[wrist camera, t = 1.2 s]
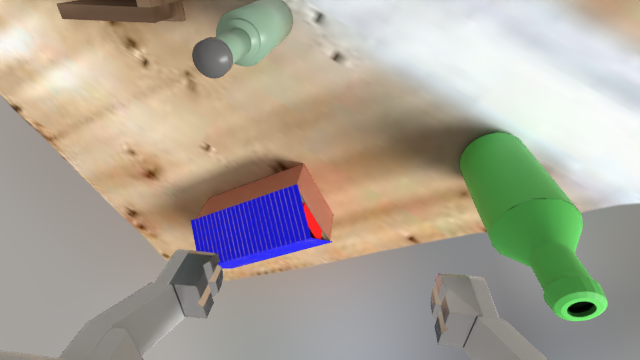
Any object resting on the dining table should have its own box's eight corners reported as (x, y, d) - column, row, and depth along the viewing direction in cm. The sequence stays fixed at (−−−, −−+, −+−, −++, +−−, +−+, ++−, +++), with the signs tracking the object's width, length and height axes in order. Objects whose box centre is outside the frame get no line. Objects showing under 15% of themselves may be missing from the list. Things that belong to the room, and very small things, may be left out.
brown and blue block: (207, 196, 59) (175, 242, 49) (304, 160, 52) (290, 205, 42) (243, 242, 64) (221, 291, 55) (336, 214, 57) (329, 266, 48)
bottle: (445, 155, 48) (502, 302, 28) (502, 117, 44) (617, 256, 23) (479, 191, 51) (554, 349, 30) (535, 159, 47) (665, 317, 26)
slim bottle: (251, -5, 40) (171, 22, 24) (292, -3, 39) (238, 24, 23) (255, 40, 42) (185, 90, 26) (293, 41, 42) (246, 94, 26)
